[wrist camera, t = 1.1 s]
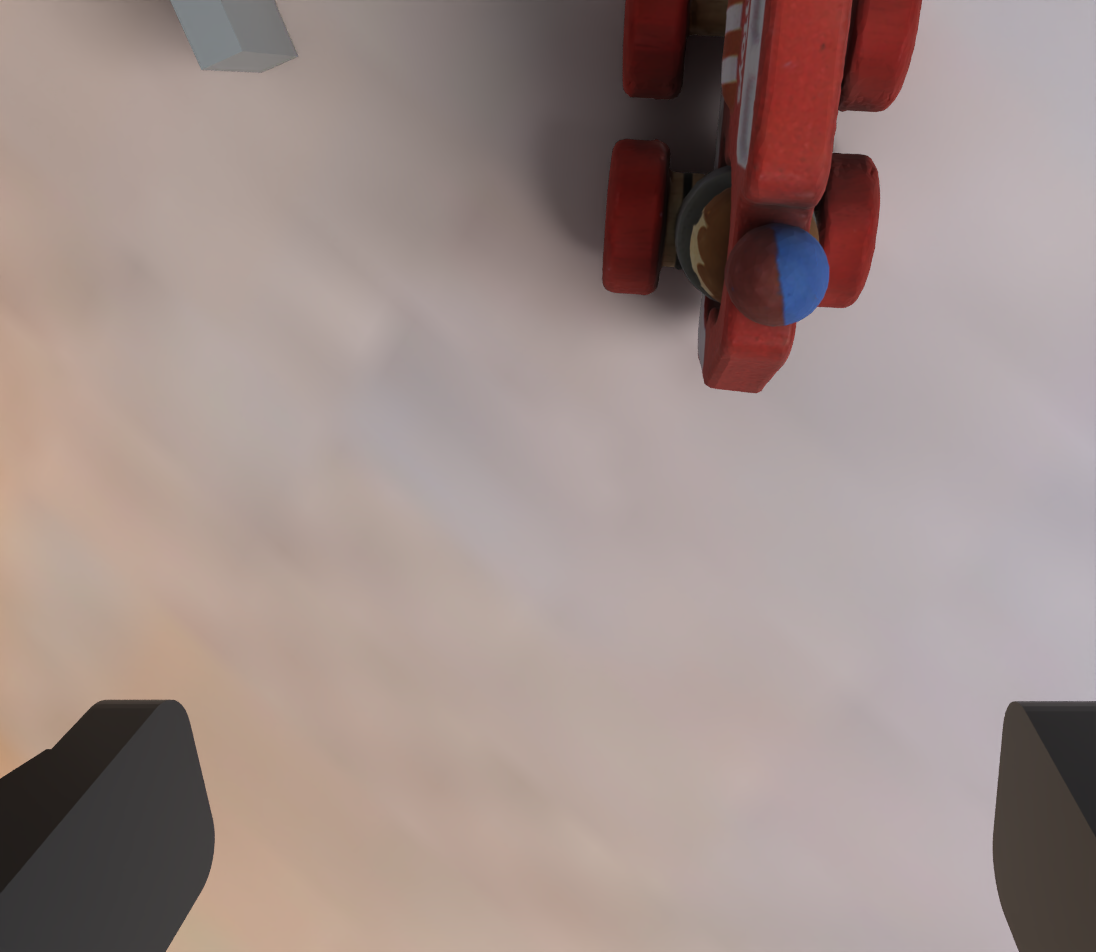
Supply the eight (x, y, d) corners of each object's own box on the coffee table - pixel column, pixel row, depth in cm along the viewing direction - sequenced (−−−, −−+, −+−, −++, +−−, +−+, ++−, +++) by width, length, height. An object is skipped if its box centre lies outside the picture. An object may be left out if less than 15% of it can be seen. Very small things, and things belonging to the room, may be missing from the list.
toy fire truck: (599, 336, 31) (567, 447, 21) (640, -132, 26) (622, -262, 17) (831, 357, 30) (907, 481, 21) (913, -118, 26) (1059, -243, 16)
